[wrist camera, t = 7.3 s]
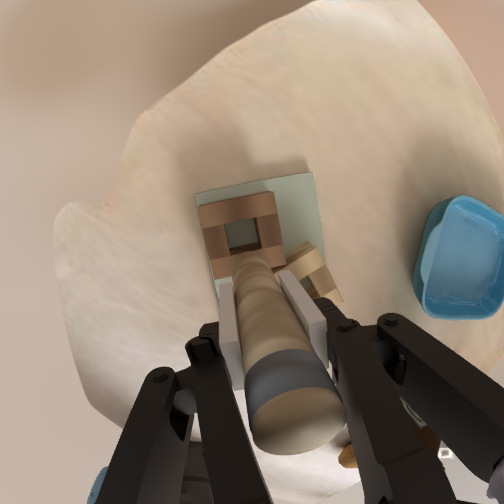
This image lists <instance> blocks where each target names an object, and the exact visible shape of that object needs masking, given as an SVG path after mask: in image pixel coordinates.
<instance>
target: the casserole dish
mask: <svg viewBox="0 0 504 504" xmlns="http://www.w3.org/2000/svg"><path fill="white" fill-rule="evenodd" d="M413 288H414V292H415V294H416V297H417V299H418V300H419V302H420V304H421V306H422V308H423V310H424V311H425V313H426V314H427V315H429V316H430V317H433V318H436V319H442V320H480V319H487V318H490V317H492V316H493V315H494V314H495V313H496V312H497V311H498V310H499V308H500V307H501V305H502V303H503V301H504V215H502V214H500V213H499V212H497V211H496V210H494V209H493V208H491V207H490V206H488V205H486V204H485V203H483V202H481V201H480V200H478V199H476V198H474V197H471V196H468V195H458V196H456V197H453V198H450V199H447V200H445V201H442V202H440V203H439V204H437V205H436V206H435V207H434V208H433V209H432V211H431V212H430V214H429V216H428V219H427V221H426V225H425V228H424V233H423V237H422V241H421V245H420V249H419V253H418V257H417V261H416V265H415V269H414V273H413Z"/></svg>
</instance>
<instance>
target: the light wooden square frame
mask: <svg viewBox="0 0 504 504" xmlns="http://www.w3.org/2000/svg"><path fill="white" fill-rule="evenodd" d="M285 259H286V265H281V266H277V267H272V268H270V269H271V270H272V272H273V274H274V276H275V278H276V280H277V281H278V283H279V285H280V282H279V276H278V272H280V271H285V270H289V269H290V271H291V272H292V273H293V275H294V276H295V277H296V279H297V280H298V281H299V280H301V279H302V278H304V277H307V279H308V281H309V282H310V284H311V286H312V287H311V288H309V289H308V290H306V292H307V294H308V295H309V296H310V298H311V299H312V300H313V299H317V298H321V297H325V298H328V299H330V300H331V301H332V302H333V303H334V304H335V305H336V306H337V305H339V304H341V303H342V302H344V301H343V299H342V297H341V295H340V292H339V290H338V288H337V286H336V284H335V282H334V280H333V278H332V276H331V274H330V272H329V270H328V268H327V266H326V264H325V262H324V260H323V258H322V256H321V255H320V253H319V251H318V249H317V247H315V246H314V245H312V244H311V243H310V242H308V241H306V242H305V243H303V244H302V245H300V246H298V247H297V248H295V249H293V250H292V251H290V252H289V253H287V254H285Z"/></svg>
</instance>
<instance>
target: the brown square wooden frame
mask: <svg viewBox="0 0 504 504" xmlns="http://www.w3.org/2000/svg"><path fill="white" fill-rule="evenodd" d="M197 208H198V212H199V217H200V221H201V226H202V230H203V234H204V239H205V243H206V247H207V252H208V256H209V260H210V264H211V268H212V272H213V276H214V280H217V279H222V278H226V277H231V276H232V272H231V267H232V263H233V261H234V260H235V258H236V257H237V256H238V255H240V254H242V253H244V252H249V251H252V252H257V253H259V254H261V255H262V256H263V257H264V258H265V260H266V261H267V263H268V265H269V267H270V268H272V267H277V266H281V265H286V259H285V253H284V247H283V241H282V235H281V229H280V223H279V218H278V212H277V206H276V201H275V195H274V192H273V191H264V192H259V193H254V194H249V195H244V196H239V197H234V198H229V199H224V200H220V201H215V202H210V203H206V204H201V205H199V206H198V207H197ZM250 218H254V223H255V229H256V234H257V239H258V242H256V243H251V244H247V245H242V246H237V247H233V248H229V244H228V239H227V235H226V230H225V225H224V224H226V223H231V222H235V221H240V220H245V219H250Z"/></svg>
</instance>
